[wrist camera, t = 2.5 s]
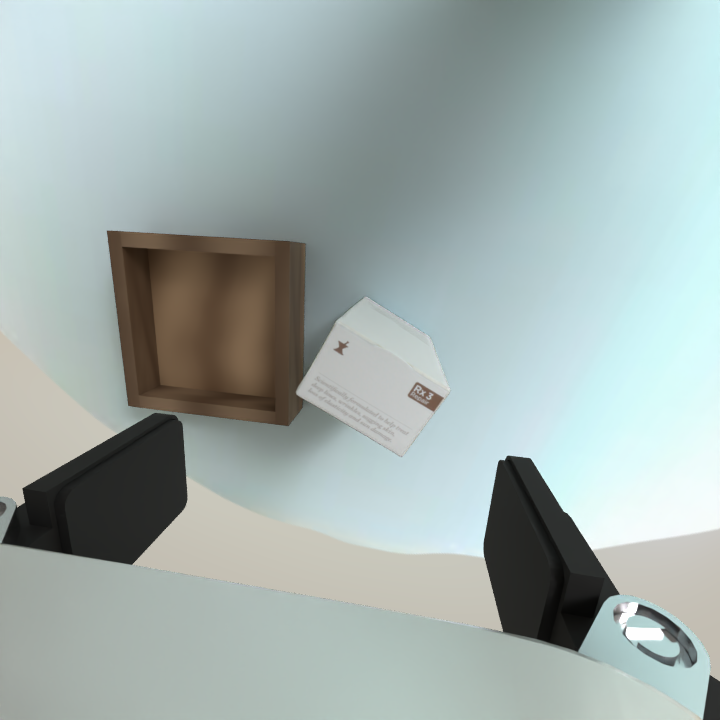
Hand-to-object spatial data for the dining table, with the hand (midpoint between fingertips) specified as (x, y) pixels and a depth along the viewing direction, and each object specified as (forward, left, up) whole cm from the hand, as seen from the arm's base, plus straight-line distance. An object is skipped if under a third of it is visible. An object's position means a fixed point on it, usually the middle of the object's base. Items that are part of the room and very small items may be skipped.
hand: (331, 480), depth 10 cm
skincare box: (0, 0, -18) cm, 18 cm away
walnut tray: (+13, 0, -18) cm, 22 cm away
